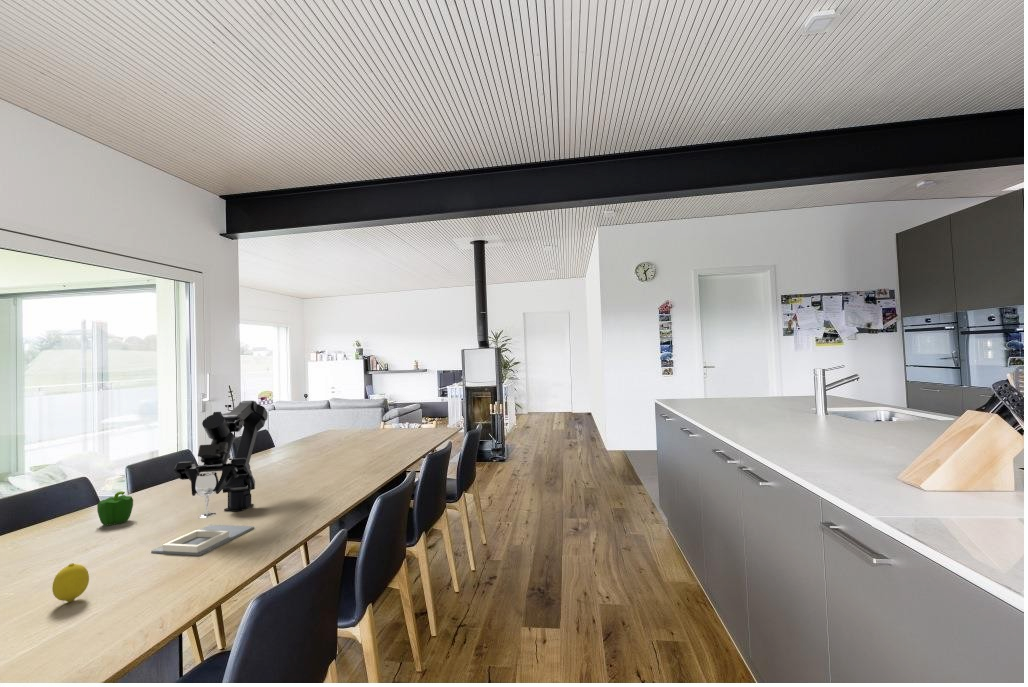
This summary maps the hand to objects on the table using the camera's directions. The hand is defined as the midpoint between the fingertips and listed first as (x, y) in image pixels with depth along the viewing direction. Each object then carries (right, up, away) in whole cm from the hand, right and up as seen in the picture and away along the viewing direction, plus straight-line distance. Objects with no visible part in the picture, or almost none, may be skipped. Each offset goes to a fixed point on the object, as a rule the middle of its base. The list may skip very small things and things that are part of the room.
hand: (205, 494), depth 129 cm
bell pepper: (-38, -14, +14) cm, 43 cm away
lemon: (-5, -12, -34) cm, 36 cm away
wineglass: (0, -7, +1) cm, 7 cm away
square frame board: (+2, -12, -2) cm, 13 cm away
